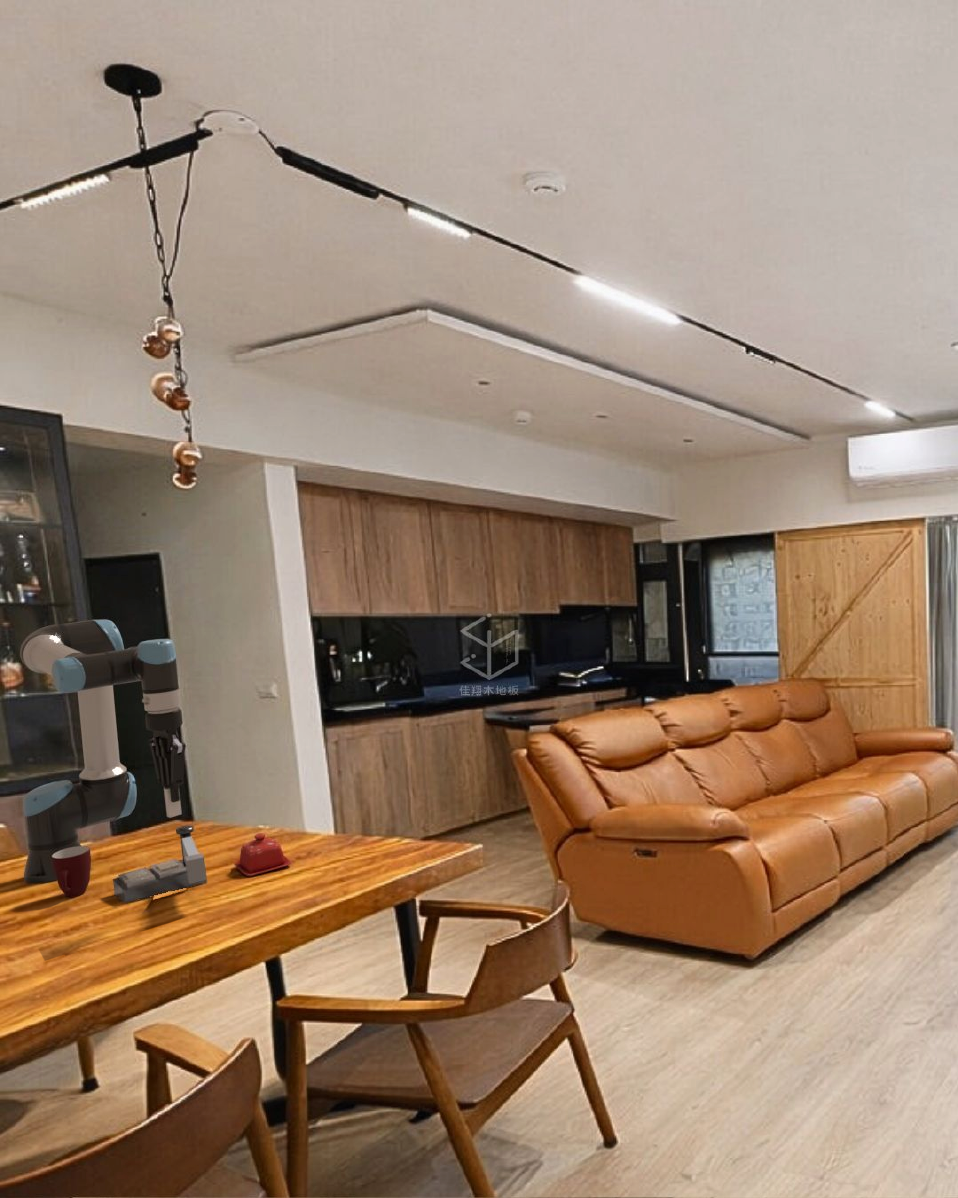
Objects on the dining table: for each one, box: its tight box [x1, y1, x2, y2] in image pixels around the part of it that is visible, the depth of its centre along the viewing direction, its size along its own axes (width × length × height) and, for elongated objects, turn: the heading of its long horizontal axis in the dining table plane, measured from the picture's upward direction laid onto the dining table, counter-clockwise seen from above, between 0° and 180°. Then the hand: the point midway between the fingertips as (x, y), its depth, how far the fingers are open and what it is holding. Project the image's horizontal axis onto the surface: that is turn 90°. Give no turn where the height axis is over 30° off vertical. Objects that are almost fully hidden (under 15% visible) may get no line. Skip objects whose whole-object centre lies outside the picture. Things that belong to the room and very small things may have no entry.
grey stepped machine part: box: [112, 825, 208, 904], centre depth 197 cm, size 10×18×12 cm, turn 126°
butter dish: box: [233, 832, 293, 877], centre depth 207 cm, size 12×12×8 cm
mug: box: [52, 845, 92, 898], centre depth 198 cm, size 11×8×10 cm
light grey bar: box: [182, 835, 207, 884], centre depth 192 cm, size 17×4×5 cm, turn 25°
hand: (174, 815), depth 190 cm, fingers closed
